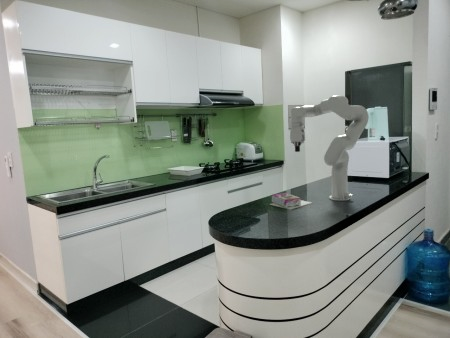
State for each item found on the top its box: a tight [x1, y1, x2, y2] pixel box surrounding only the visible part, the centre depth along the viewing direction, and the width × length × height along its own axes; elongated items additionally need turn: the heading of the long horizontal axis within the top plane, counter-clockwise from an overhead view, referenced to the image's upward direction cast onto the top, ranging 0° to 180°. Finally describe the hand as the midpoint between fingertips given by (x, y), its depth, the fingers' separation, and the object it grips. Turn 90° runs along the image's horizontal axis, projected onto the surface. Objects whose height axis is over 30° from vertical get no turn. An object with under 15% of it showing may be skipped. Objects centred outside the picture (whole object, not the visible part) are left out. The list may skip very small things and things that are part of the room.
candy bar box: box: [271, 192, 302, 207], centre depth 208 cm, size 11×5×16 cm
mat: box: [269, 200, 313, 210], centre depth 209 cm, size 17×20×1 cm
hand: (297, 151), depth 236 cm, fingers closed
